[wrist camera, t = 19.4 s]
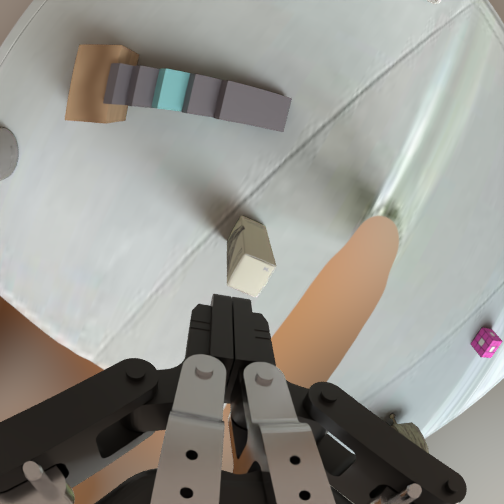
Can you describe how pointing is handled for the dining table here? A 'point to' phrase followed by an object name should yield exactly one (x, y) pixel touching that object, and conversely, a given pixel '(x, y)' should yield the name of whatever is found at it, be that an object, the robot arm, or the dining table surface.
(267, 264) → the box
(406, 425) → the tabletop clock
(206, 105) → the domino
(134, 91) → the domino
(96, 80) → the end block
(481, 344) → the puzzle toy
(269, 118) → the domino
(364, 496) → the robot arm
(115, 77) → the domino
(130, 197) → the dining table surface
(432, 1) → the mug
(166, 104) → the domino
